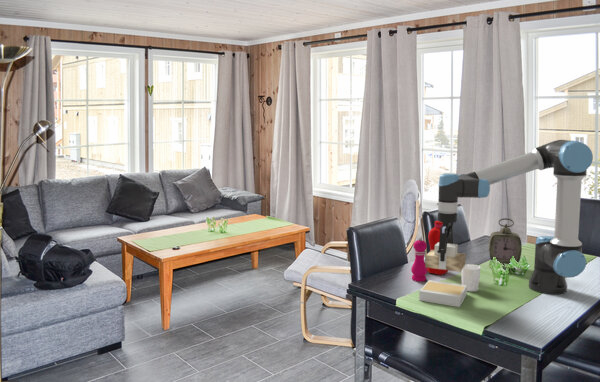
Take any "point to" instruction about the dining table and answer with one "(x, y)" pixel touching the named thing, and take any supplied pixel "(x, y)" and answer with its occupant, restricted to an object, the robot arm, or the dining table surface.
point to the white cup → (470, 276)
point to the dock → (443, 293)
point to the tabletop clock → (505, 244)
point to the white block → (448, 249)
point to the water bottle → (433, 240)
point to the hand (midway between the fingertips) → (445, 265)
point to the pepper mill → (419, 261)
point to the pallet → (451, 262)
